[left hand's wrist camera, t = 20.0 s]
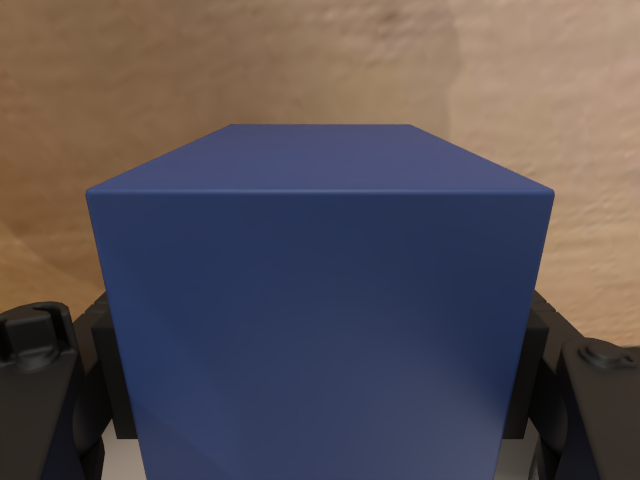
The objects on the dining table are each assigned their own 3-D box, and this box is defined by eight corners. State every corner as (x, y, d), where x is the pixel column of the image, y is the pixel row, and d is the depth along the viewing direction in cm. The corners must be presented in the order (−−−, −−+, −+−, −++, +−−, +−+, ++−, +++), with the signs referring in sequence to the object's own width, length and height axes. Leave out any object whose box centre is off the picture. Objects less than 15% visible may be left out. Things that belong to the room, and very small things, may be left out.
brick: (243, 314, 18) (161, 559, 9) (229, 124, 15) (81, 189, 6) (397, 314, 18) (478, 559, 9) (411, 124, 15) (559, 189, 6)
